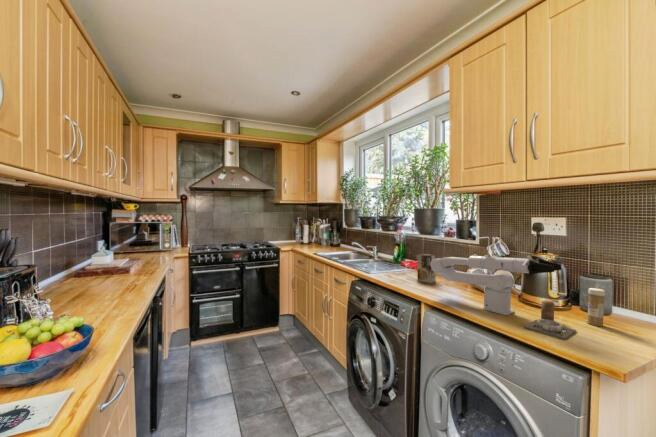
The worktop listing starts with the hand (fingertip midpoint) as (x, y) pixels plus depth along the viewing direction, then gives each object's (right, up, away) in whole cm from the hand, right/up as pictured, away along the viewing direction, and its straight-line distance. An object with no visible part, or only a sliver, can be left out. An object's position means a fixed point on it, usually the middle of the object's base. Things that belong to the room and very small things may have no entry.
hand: (557, 268), depth 106 cm
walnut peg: (+1, -21, +7) cm, 23 cm away
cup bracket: (-5, -22, -3) cm, 22 cm away
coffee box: (-25, -20, +69) cm, 76 cm away
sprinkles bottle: (+16, -22, +3) cm, 28 cm away
